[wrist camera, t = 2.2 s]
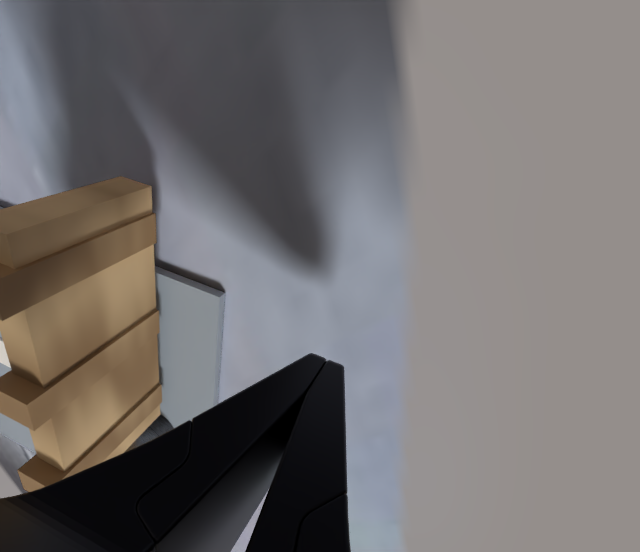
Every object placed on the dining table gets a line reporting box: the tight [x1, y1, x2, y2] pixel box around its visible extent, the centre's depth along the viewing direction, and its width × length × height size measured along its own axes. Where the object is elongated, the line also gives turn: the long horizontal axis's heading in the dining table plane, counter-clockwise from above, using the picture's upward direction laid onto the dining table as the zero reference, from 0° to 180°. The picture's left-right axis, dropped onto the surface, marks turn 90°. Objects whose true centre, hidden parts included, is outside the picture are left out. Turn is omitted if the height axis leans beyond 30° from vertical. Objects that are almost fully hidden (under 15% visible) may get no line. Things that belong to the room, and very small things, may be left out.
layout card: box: [0, 206, 225, 454], centre depth 17 cm, size 15×14×1 cm
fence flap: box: [0, 176, 162, 492], centre depth 11 cm, size 9×1×4 cm, turn 170°
